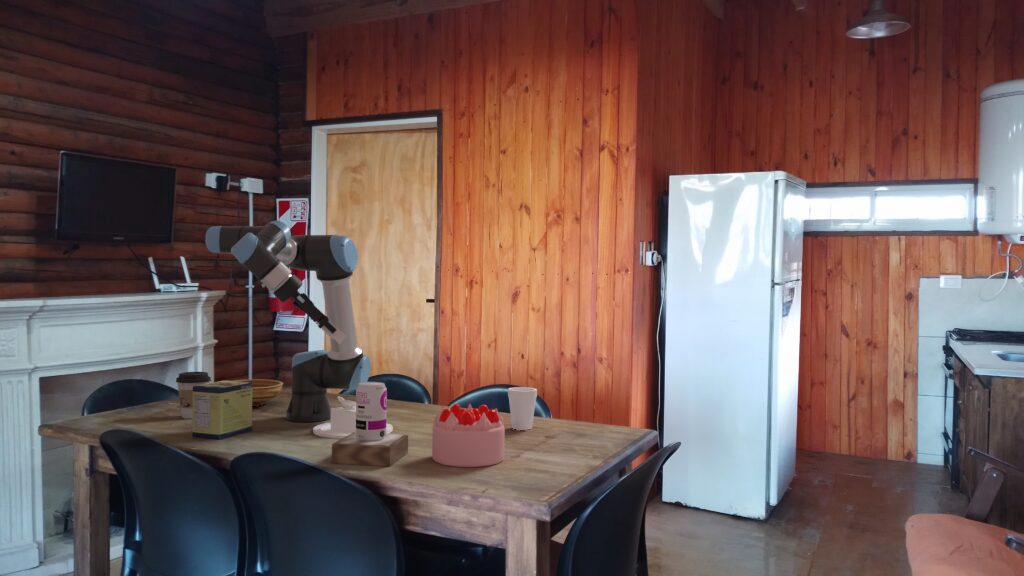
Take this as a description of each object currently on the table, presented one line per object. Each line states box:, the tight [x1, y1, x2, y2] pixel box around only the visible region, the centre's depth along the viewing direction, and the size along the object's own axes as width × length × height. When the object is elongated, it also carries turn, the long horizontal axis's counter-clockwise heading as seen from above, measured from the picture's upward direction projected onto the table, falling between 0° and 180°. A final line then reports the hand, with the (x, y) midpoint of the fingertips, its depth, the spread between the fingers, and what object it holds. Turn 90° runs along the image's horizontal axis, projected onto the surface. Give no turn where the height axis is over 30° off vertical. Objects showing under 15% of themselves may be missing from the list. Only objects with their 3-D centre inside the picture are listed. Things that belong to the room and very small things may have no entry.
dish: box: [312, 395, 394, 440], centre depth 250 cm, size 25×25×11 cm
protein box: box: [191, 379, 253, 440], centre depth 243 cm, size 10×16×16 cm
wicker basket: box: [232, 378, 284, 407], centre depth 296 cm, size 30×24×8 cm
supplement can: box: [355, 381, 388, 441], centre depth 214 cm, size 8×8×15 cm
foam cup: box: [507, 386, 538, 431], centre depth 258 cm, size 10×9×13 cm
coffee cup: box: [175, 371, 212, 420], centre depth 269 cm, size 11×11×15 cm
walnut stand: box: [331, 432, 409, 467], centre depth 214 cm, size 16×16×5 cm
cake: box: [431, 403, 506, 468], centre depth 215 cm, size 20×20×14 cm
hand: (339, 338), depth 214 cm, fingers open, 13 cm apart
